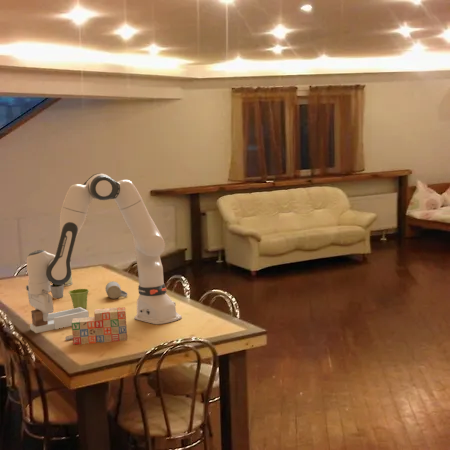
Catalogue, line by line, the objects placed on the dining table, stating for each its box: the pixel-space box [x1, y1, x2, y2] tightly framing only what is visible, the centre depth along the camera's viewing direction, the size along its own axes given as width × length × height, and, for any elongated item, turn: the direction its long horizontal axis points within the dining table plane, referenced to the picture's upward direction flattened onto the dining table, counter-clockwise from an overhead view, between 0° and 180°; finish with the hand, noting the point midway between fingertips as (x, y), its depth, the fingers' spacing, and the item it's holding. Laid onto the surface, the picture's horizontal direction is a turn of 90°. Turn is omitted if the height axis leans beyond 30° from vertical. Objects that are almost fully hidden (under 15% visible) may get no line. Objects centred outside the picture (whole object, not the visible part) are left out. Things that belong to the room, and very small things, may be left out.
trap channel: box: [29, 307, 90, 334], centre depth 278 cm, size 9×24×5 cm, turn 126°
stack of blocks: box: [71, 307, 128, 346], centre depth 255 cm, size 21×6×12 cm, turn 99°
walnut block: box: [30, 309, 48, 327], centre depth 273 cm, size 5×5×6 cm
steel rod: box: [65, 334, 73, 341], centre depth 262 cm, size 14×2×2 cm
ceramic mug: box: [105, 280, 128, 300], centre depth 323 cm, size 11×8×8 cm
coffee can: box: [64, 259, 74, 287], centre depth 357 cm, size 10×10×14 cm
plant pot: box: [68, 288, 90, 309], centre depth 305 cm, size 9×9×9 cm
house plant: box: [50, 282, 65, 299], centre depth 329 cm, size 14×14×16 cm
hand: (42, 319), depth 274 cm, fingers closed on walnut block, 5 cm apart
